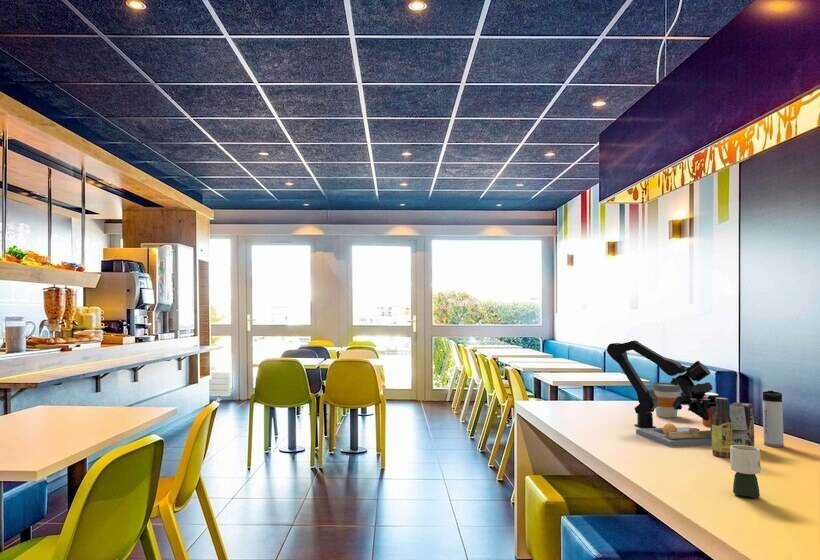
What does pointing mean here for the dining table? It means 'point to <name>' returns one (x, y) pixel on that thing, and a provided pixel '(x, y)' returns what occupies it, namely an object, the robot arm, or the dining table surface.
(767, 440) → the travel mug
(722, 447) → the sauce bottle
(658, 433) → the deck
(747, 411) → the coffee box
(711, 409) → the lever
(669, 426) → the ball
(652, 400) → the robot arm
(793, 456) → the dining table surface
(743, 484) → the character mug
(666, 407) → the reusable coffee cup
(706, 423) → the paper cup
